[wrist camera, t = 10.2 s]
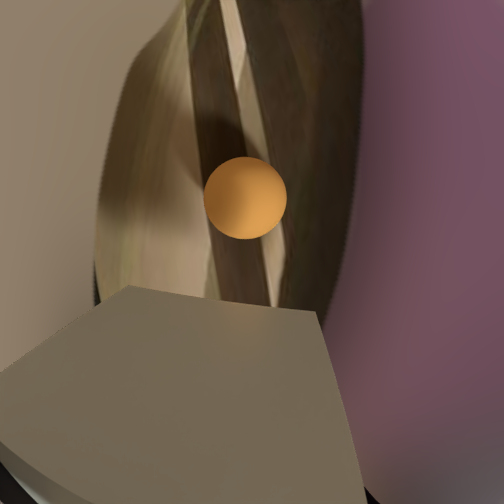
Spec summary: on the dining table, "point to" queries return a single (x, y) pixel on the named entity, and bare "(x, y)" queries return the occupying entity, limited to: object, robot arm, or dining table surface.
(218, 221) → the ball
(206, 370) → the white rectangular box
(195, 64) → the dining table surface
